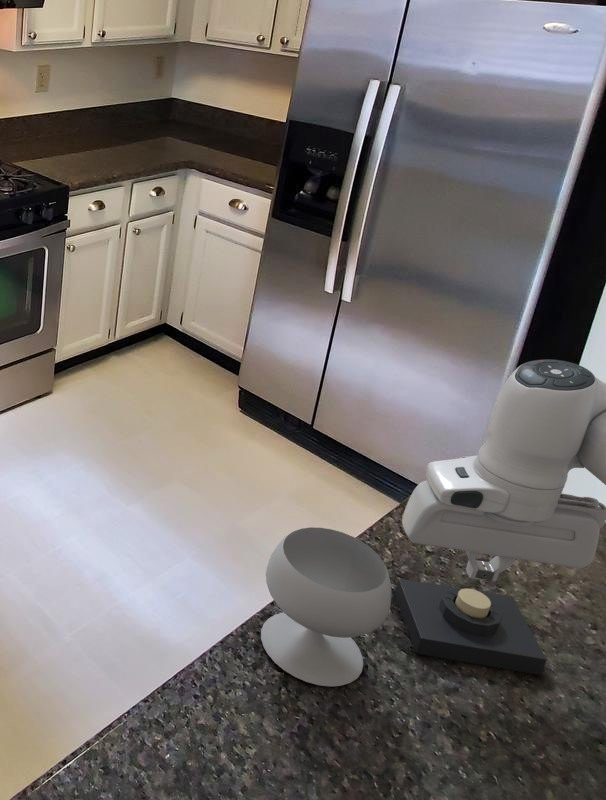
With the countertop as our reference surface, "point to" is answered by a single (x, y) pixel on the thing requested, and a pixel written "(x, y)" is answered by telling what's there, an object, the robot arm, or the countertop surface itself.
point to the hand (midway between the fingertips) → (480, 576)
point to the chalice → (324, 604)
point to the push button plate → (468, 628)
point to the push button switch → (473, 603)
